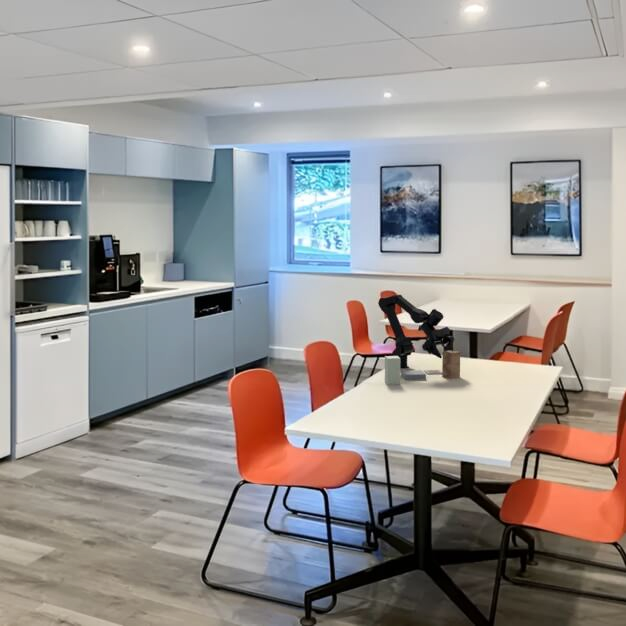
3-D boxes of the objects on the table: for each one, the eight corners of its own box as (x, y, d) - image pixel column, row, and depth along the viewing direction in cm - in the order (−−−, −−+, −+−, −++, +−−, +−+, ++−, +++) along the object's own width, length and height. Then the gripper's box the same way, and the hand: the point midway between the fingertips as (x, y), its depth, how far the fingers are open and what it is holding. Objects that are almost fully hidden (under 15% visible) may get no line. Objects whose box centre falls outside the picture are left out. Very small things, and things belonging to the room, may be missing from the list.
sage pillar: (384, 382, 354) (384, 356, 353) (397, 381, 355) (397, 355, 354) (387, 384, 348) (387, 358, 347) (400, 384, 349) (400, 358, 348)
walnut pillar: (442, 376, 366) (442, 351, 364) (450, 375, 369) (450, 350, 368) (451, 378, 361) (452, 353, 359) (459, 377, 365) (460, 351, 363)
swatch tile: (423, 371, 379) (423, 369, 379) (438, 370, 380) (438, 369, 380) (427, 374, 371) (427, 373, 371) (443, 373, 372) (443, 372, 372)
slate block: (401, 376, 369) (401, 370, 368) (421, 376, 370) (421, 370, 369) (405, 380, 359) (405, 374, 358) (425, 380, 360) (425, 374, 359)
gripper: (426, 323, 362) (443, 348, 355) (452, 320, 374) (469, 344, 366) (414, 337, 369) (431, 362, 362) (439, 334, 381) (456, 358, 373)
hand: (447, 356), depth 366 cm, fingers open, 9 cm apart
